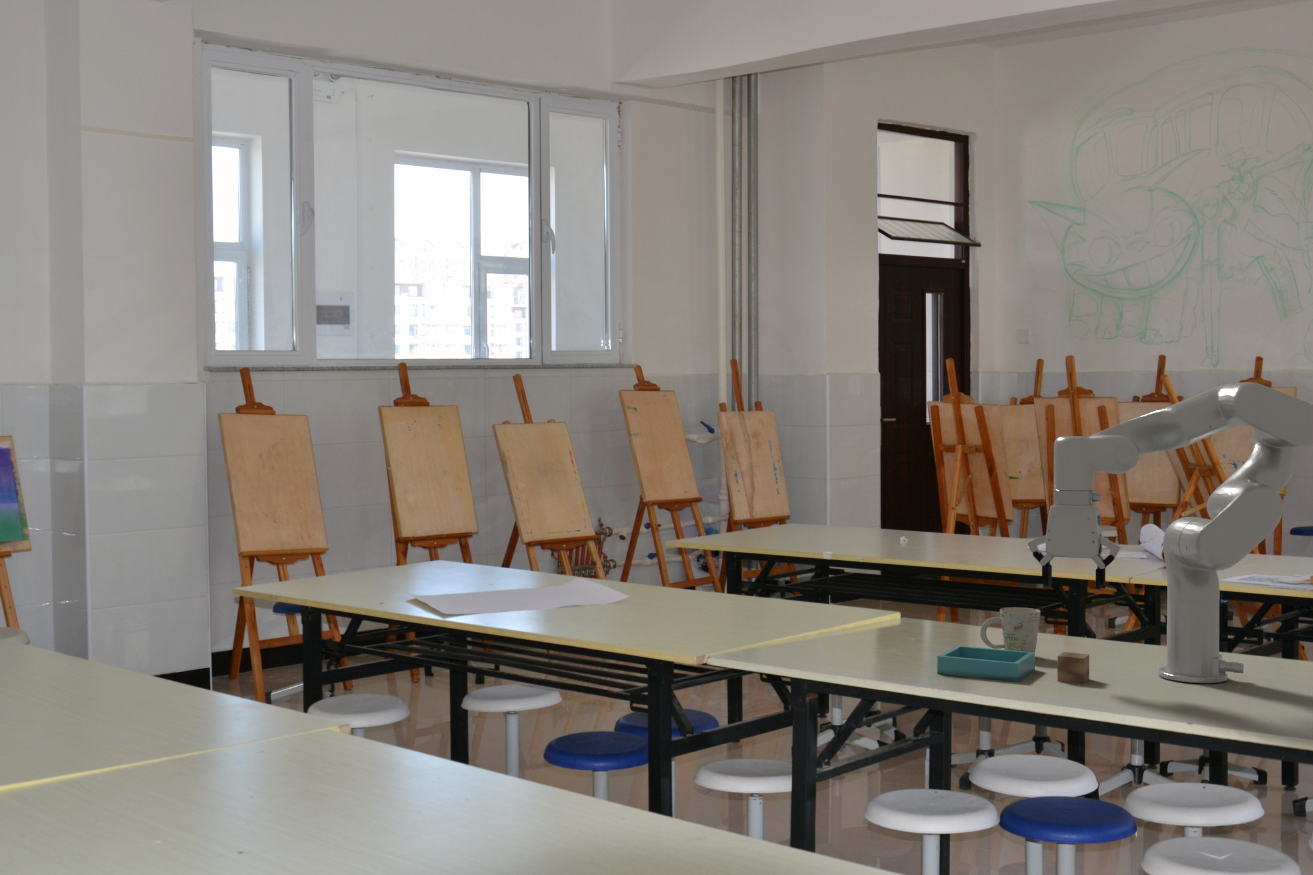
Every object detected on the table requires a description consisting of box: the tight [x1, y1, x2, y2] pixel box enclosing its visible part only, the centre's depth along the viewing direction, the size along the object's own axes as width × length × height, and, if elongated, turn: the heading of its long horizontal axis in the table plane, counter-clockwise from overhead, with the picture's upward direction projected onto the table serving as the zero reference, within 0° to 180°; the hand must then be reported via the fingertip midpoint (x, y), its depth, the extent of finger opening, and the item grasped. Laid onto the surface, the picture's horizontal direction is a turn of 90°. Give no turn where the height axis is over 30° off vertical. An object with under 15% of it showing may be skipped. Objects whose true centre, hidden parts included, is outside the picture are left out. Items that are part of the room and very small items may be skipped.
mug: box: [979, 606, 1041, 653], centre depth 274 cm, size 8×13×10 cm, turn 89°
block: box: [1056, 651, 1090, 685], centre depth 250 cm, size 5×5×5 cm
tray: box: [936, 645, 1036, 683], centre depth 258 cm, size 16×14×4 cm
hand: (1073, 586), depth 249 cm, fingers open, 9 cm apart
